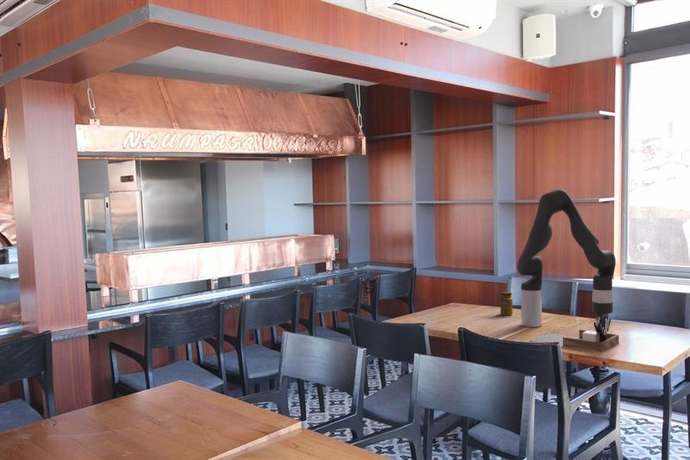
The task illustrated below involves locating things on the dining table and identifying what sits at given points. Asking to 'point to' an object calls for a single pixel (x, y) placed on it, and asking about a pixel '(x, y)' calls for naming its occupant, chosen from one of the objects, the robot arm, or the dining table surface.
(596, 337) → the cream cube
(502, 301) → the condiment
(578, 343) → the tray
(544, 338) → the slate board
